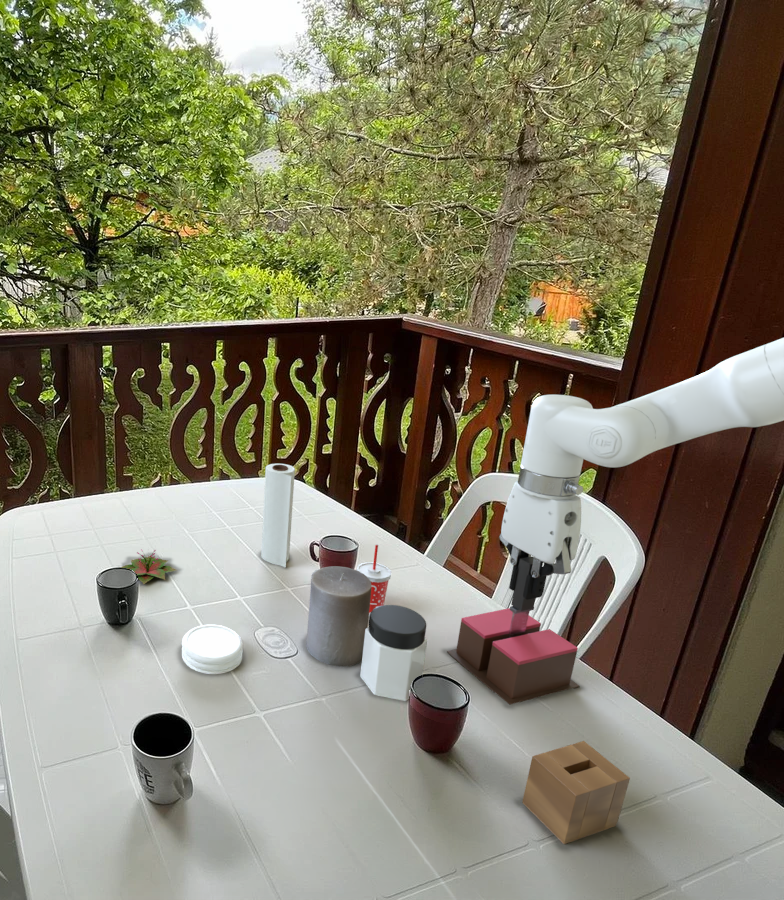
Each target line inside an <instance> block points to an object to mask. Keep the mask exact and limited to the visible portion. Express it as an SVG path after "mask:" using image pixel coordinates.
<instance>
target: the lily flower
mask: <svg viewBox="0 0 784 900" xmlns="http://www.w3.org/2000/svg"><path fill="white" fill-rule="evenodd" d="M149 549H150V548H148V549H147V552H148V551H149ZM140 551H141V552H142V553H144V551H143V549H140ZM136 554H138V555H139V556H141V557H142V558H141V557H138V558H134V559H130V563H129V564H125V565H123V566H121V567H120V568H127V569H131V570H133V571H134V572H135V573H136V574H137V575H136V577H137V576H138V578H137V579H138V580H139V581H140V583H142V585H145V584H146V583H148V582H150V581H151V580H152V579H154V578H159V579H162V580H164V581H166V573H171V572H174V571H177V569H176V568H174V567H172V566H171V565H166V563H168V562H169V560H167V559H162V558H158V557H157V558H156V556H155V554H156V549H154V550H153V552H152V553H151V555H149V554H147V555H145V554H141V553H139V552H138V551H137V552H136Z"/></svg>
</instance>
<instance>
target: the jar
mask: <svg viewBox="0 0 784 900" xmlns="http://www.w3.org/2000/svg"><path fill="white" fill-rule="evenodd" d="M426 632H427V621H426V619H425V618H424V617H423V616H422V615H421V614H420V613H419V612H417V611H415V610H414V609H412V608H408V607H406V606H402V605H398V604H397V605H396V604H384V605H383V606H379V607H376V608H375V609H373V610H372V611H371V613H370V616H369V618H368V627H367V628H366V629H365V637H364V646H363V656H362V660H361V664H360V665H361V666H360V674H359V677H360V678H361V679H362V681H363V682H364V684H365V685H366V686H367V687H368V689H369V690H370V691H371V693H372V694H373V695H374V696H378V697H382V698H388V699H392V700H398V701H403V702H406V701H408V700H409V699H410V698H409V690H410V685H411V683H412V681H413V680H414V679H415V678H416V677H418V676H420V675H422V676H423V673H424V667H425V661H426V660H425V659H426V653H427V645H428V638H426Z"/></svg>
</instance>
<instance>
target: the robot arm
mask: <svg viewBox="0 0 784 900" xmlns="http://www.w3.org/2000/svg"><path fill="white" fill-rule="evenodd" d="M783 421H784V337H781V338H779V339H776V340H774V341H771V342H768V343H766V344H765V343H764V344H763V345H760V346H757V347H755V348H753V349H749V350H747V351H744V352H742V353H739V354H736V355H733V356H731V357H729V358H726V359H724V360H723V361H720V362H719V363H717V364H716V365H715V366H713V367H711V368H710V369H709V370H706V371H705V372H702V373H700V374H698V375H695V376H692V377H690V378H686V379H685V380H683V381H680V382H677V383H674V384H672V385H669V386H667V387H664V388H661V389H658V390H656V391H653V392H650V393H648V394H645V395H642V396H640V397H637V398H634V399H631V400H628V401H625V402H623V403H619V404H616V405H614V406H611V407H605V408H593V405H592V403H590V401H588V400H586V399H584V398H582V397H577V396H573V395H568V394H567V395H566V394H544V395H540V396H538V397H536V398H535V399H534V401H532V404H531V408H530V412H529V417H528V424H527V429H526V434H525V440H524V445H523V450H522V455H521V461H520V467H519V472H518V478H517V480H516V481H514V484H513V486H512V488H511V491H510V493H509V496H508V498H507V502H506V506H505V509H504V513H503V517H502V521H501V529H500V531H501V533H500V534H499V537H498V538H499V540H500V541H501V542H502V544H503V545H504V546H505V547H506V549H507V551H508V553H509V555H510V557H509V562H510V565H512V570H511V571H512V572H511V576H510V580H509V586H508V588H509V590H511V591H513V592H514V589H515V584H516V579H517V574H518V567H519V561H520V559H521V558H526V557H534V560H533V565H532V570H531V574H530V575H527V577H526V582H525V587H524V592H523V597H524V598H525V599H526V600H529V599H534V598H535V599H538V598H541V597H543V595H544V591H545V586H546V581H547V577H548V576H551V575H552V574H554V575H568V574H571V573H572V566H571V561H573V560H574V561H575V558H576V556H577V554H578V553H577V552H578V547H579V542H580V536H581V527H582V500H581V497H580V496H579V495H581V494H583V491H584V487H583V486H582V485H580V484H579V482H580V477H581V473H582V467H583V463H584V460H585V461H587V462H589V463H591V464H595V465H598V466H601V467H606V468H621V467H626V466H628V465H631V464H633V463H635V462H637V461H639V460H640V459H643V458H644V457H646V456H648V455H650V454H652V453H654V452H656V451H659V450H662V449H665V448H668V447H671V446H674V445H677V444H680V443H684V442H686V441H690V440H693V439H696V438H700V437H703V436H706V435H709V434H713V433H717V432H721V431H724V430H729V429H735V428H760V427H763V426H770V425H773V424H776V423H780V422H783Z"/></svg>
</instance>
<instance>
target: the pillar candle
mask: <svg viewBox="0 0 784 900" xmlns="http://www.w3.org/2000/svg"><path fill="white" fill-rule="evenodd" d="M371 587H372V586H371V581H370V580H369V578H368V577H367V576H366V575H364V574H363V573H361V572H359V571H357V569H354V568H350V567H347V566H338V565H337V566H336V565H334V566H333V565H332V566H325V567H321V568H318V569H316V570H314V571H313V572H312V573H311V575H310V591H309V606H308V614H307V615H308V617H307V629H306V632H307V633H306V650H307V651H308V653H309V654H310V655H311V656H312V658H314V659H316V661H319V662H321V663H323V664H327V665H330V666H335V667H352V666H355V665H357V664H360V662H362V656H363V646H364V637H365V629H366V628H368V627H369V617H370V616H369V608H370V599H371Z"/></svg>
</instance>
